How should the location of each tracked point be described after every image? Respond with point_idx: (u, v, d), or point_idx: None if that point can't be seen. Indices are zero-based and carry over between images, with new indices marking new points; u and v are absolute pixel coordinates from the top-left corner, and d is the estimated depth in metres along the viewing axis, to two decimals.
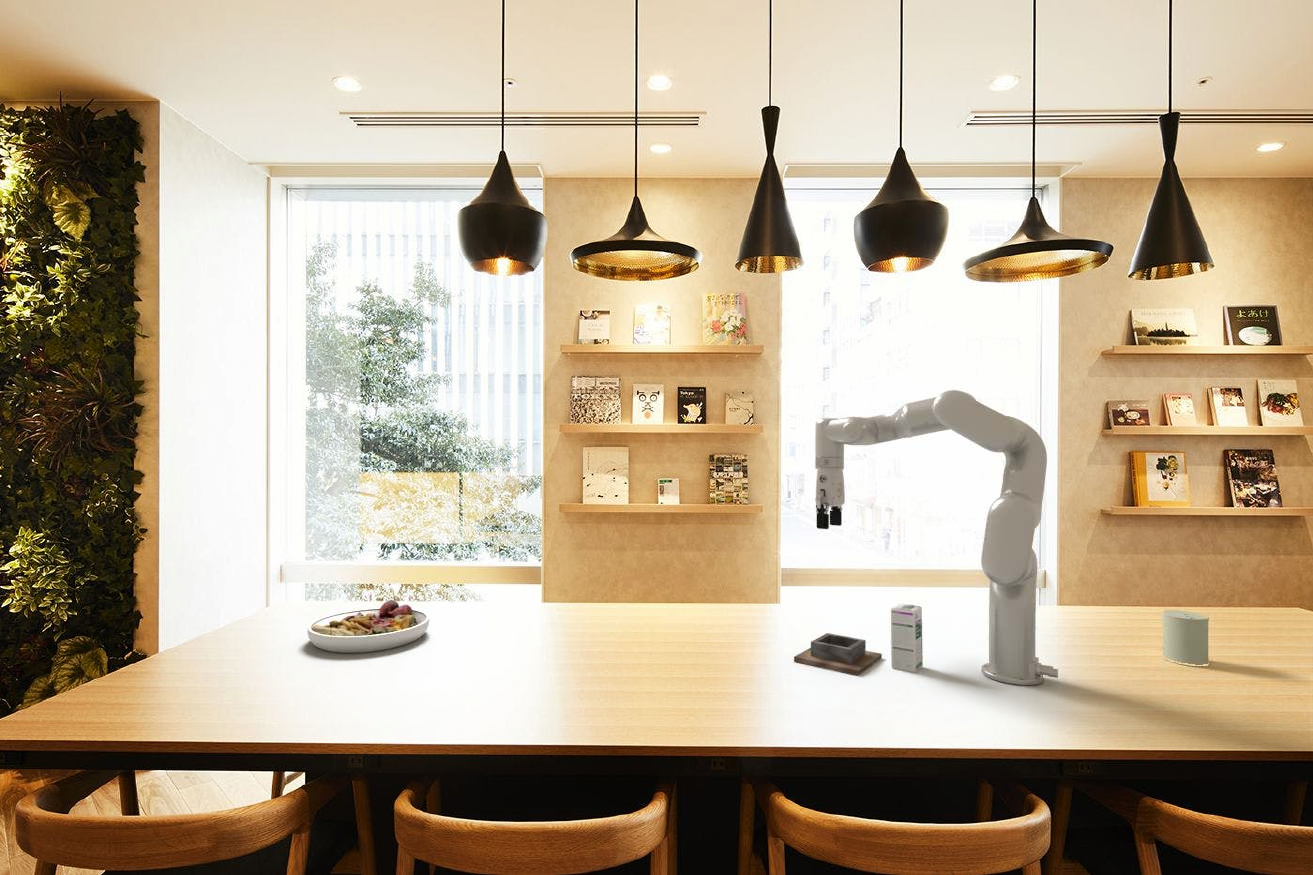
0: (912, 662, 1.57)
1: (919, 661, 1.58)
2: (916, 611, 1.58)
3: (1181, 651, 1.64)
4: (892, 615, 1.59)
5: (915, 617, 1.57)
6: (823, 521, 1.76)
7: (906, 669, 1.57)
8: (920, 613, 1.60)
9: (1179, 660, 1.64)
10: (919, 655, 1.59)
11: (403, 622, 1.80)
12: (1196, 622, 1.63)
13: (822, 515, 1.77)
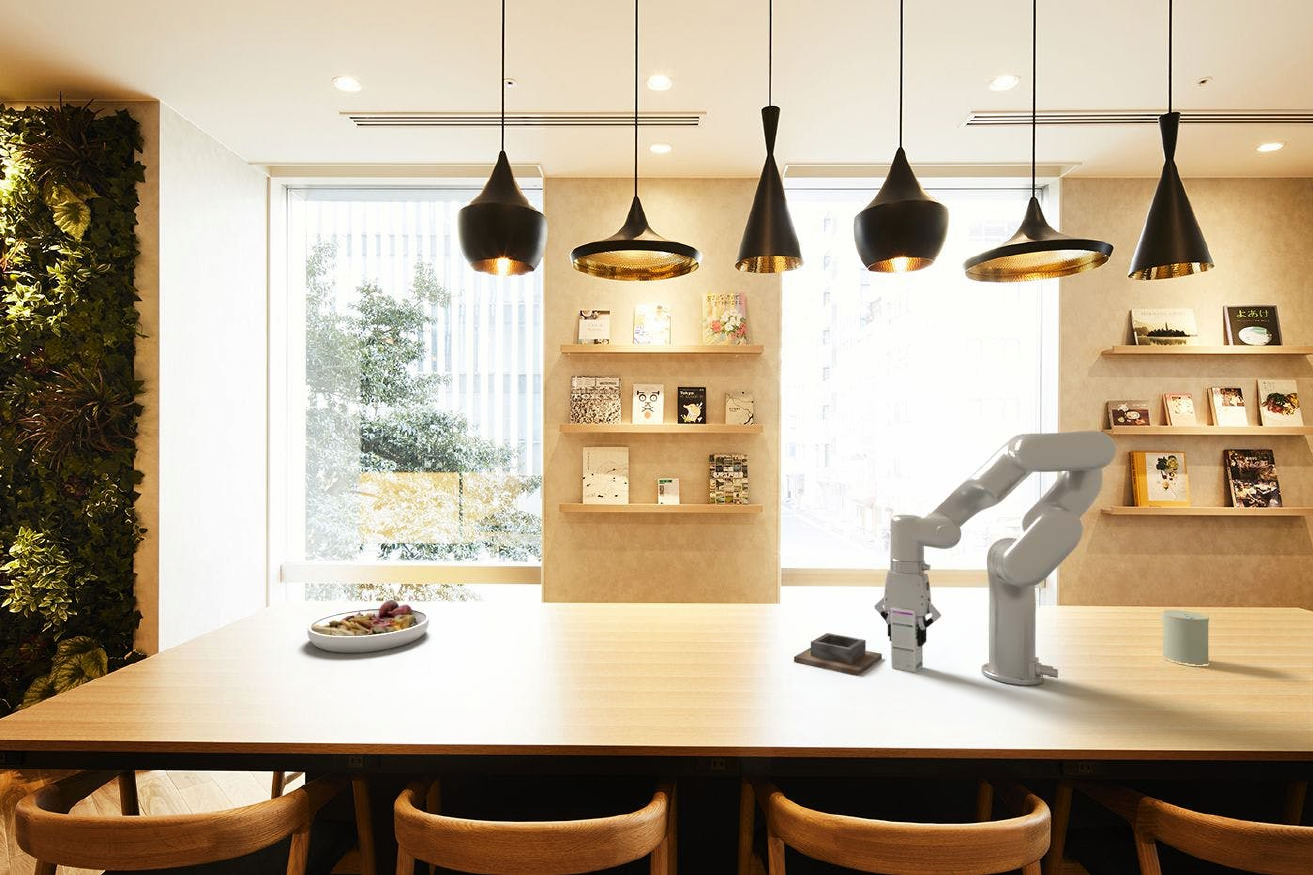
0: (912, 662, 1.57)
1: (919, 661, 1.58)
2: None
3: (1181, 651, 1.64)
4: (892, 615, 1.59)
5: (915, 617, 1.57)
6: (925, 636, 1.58)
7: (906, 669, 1.57)
8: None
9: (1179, 660, 1.64)
10: (919, 655, 1.59)
11: (403, 622, 1.80)
12: (1196, 622, 1.63)
13: (925, 630, 1.58)
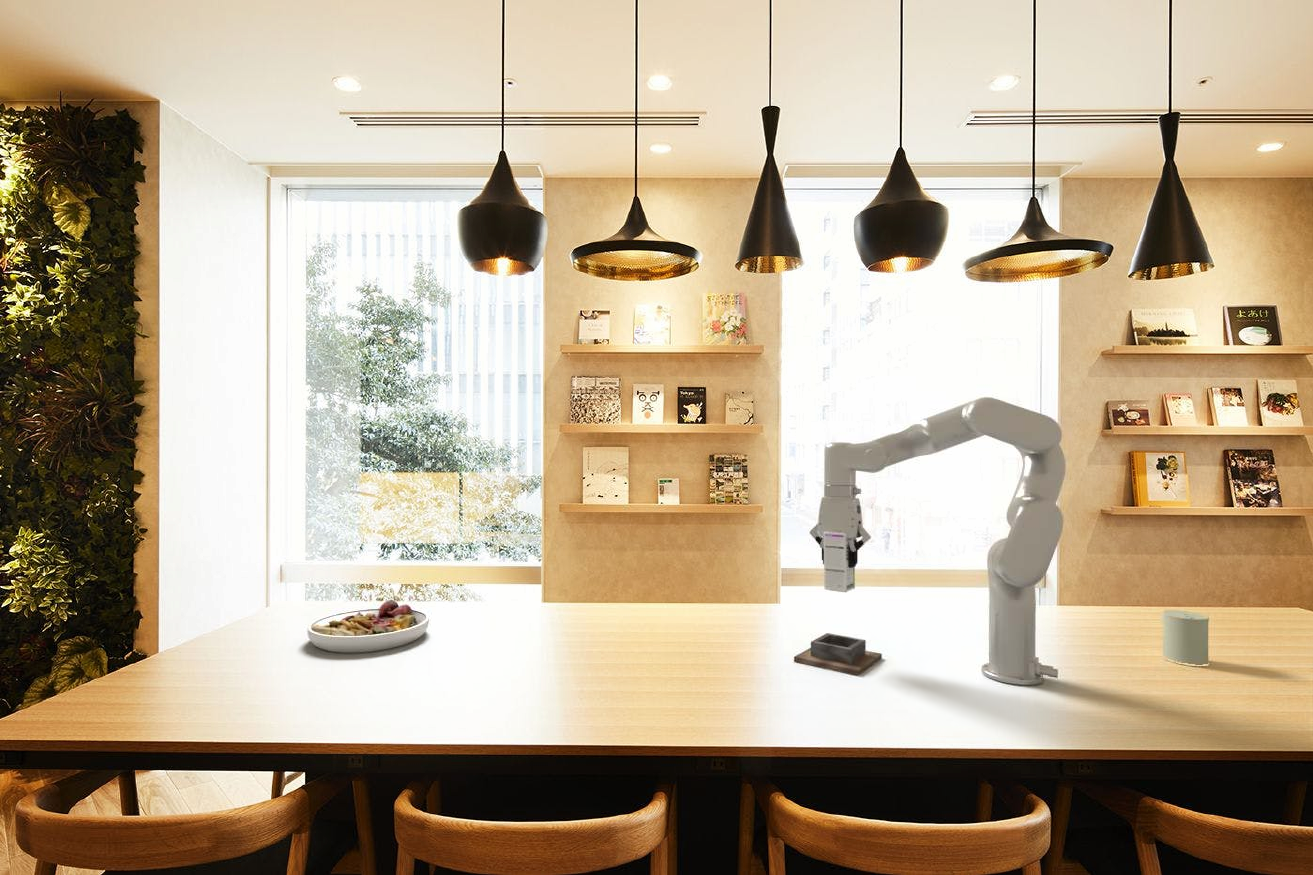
0: (843, 582, 1.62)
1: (850, 582, 1.64)
2: None
3: (1181, 651, 1.64)
4: (825, 539, 1.65)
5: (846, 539, 1.62)
6: (857, 558, 1.63)
7: (837, 589, 1.63)
8: None
9: (1179, 660, 1.64)
10: (851, 577, 1.64)
11: (403, 622, 1.80)
12: (1196, 622, 1.63)
13: (856, 552, 1.63)
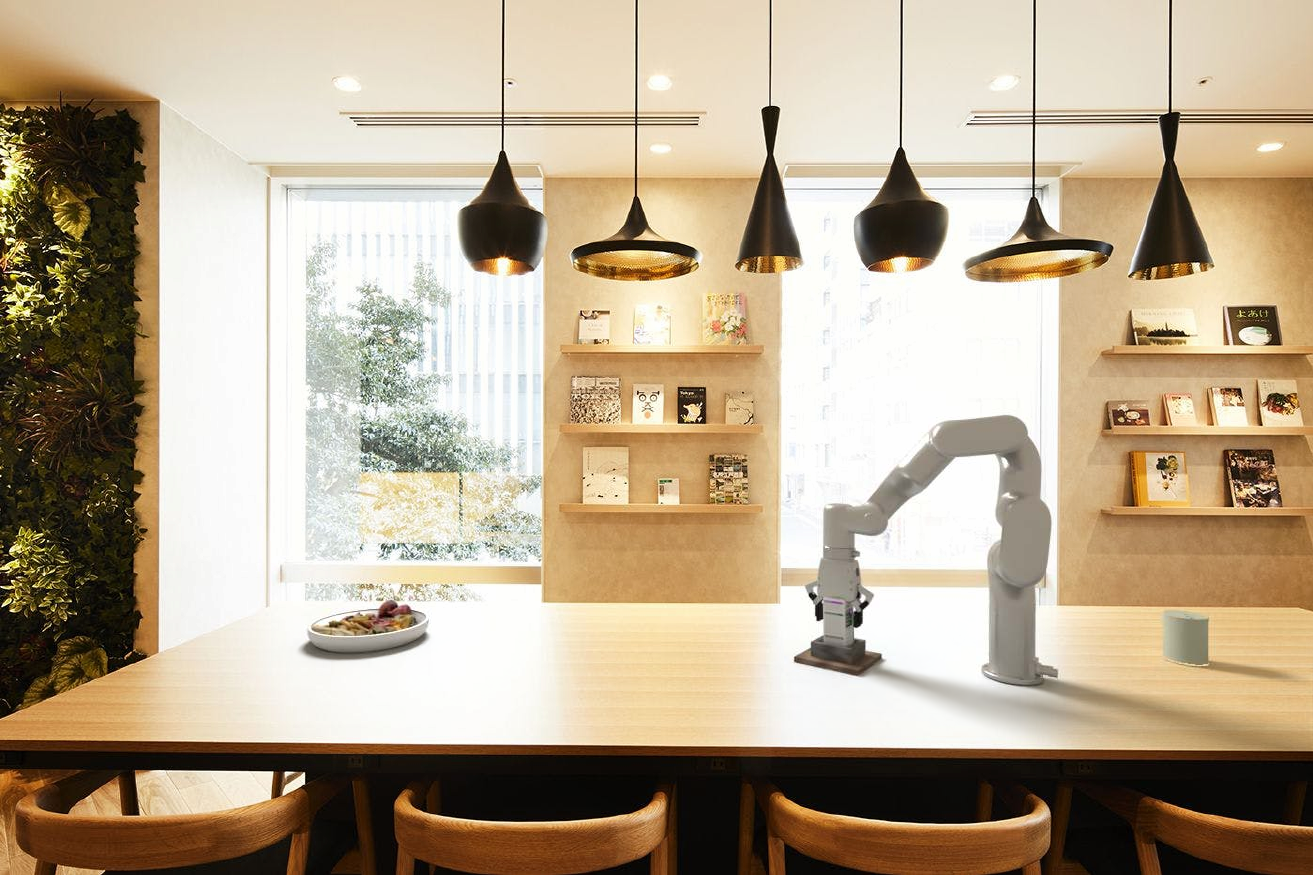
0: None
1: None
2: None
3: (1181, 651, 1.64)
4: (824, 605, 1.65)
5: (845, 606, 1.62)
6: (862, 618, 1.62)
7: None
8: None
9: (1179, 660, 1.64)
10: (850, 643, 1.64)
11: (403, 622, 1.80)
12: (1196, 622, 1.63)
13: (862, 612, 1.62)
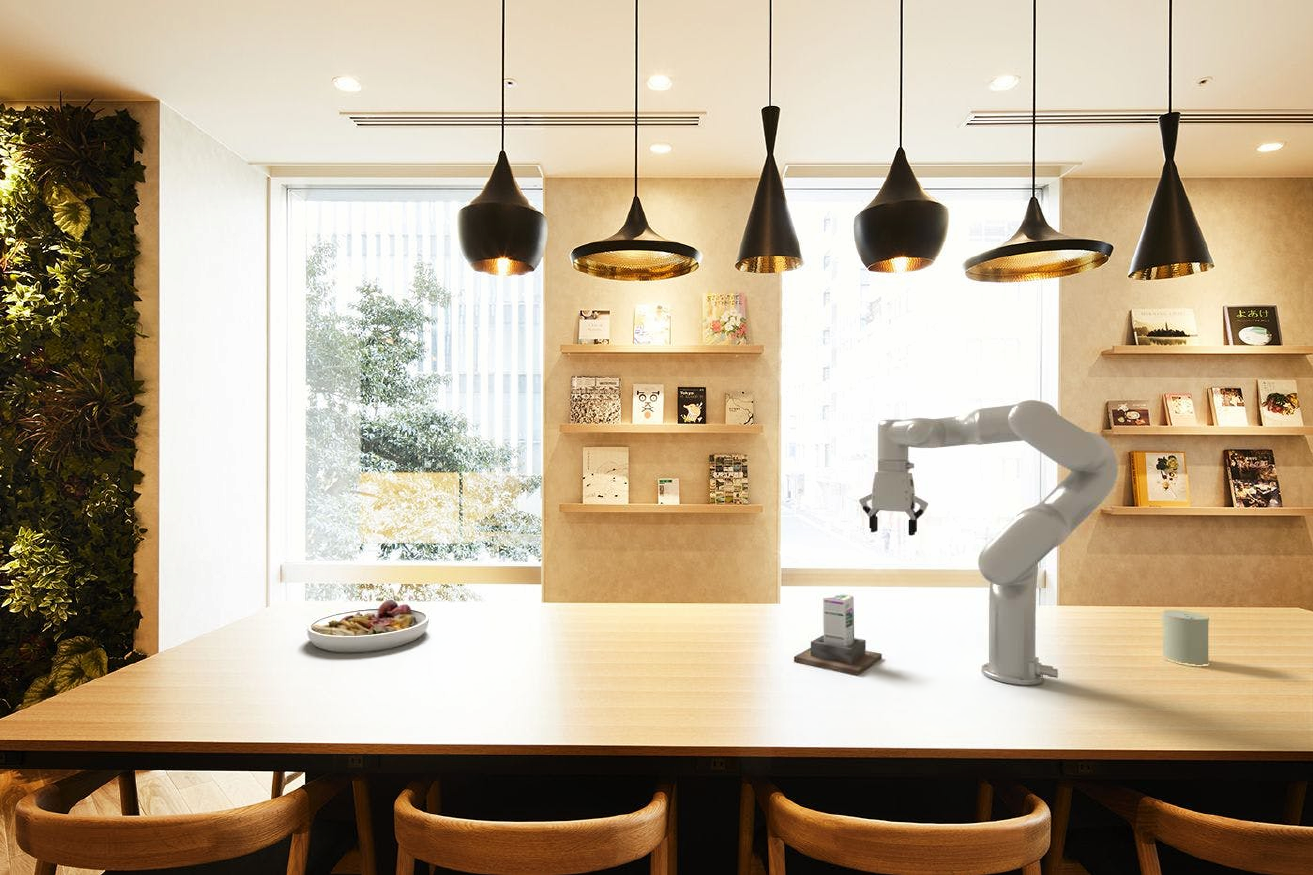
0: None
1: None
2: (847, 600, 1.63)
3: (1181, 651, 1.64)
4: (824, 605, 1.65)
5: (846, 606, 1.62)
6: (916, 527, 1.70)
7: None
8: (852, 602, 1.65)
9: (1179, 660, 1.64)
10: (850, 643, 1.64)
11: (403, 622, 1.80)
12: (1196, 622, 1.62)
13: (916, 520, 1.70)
